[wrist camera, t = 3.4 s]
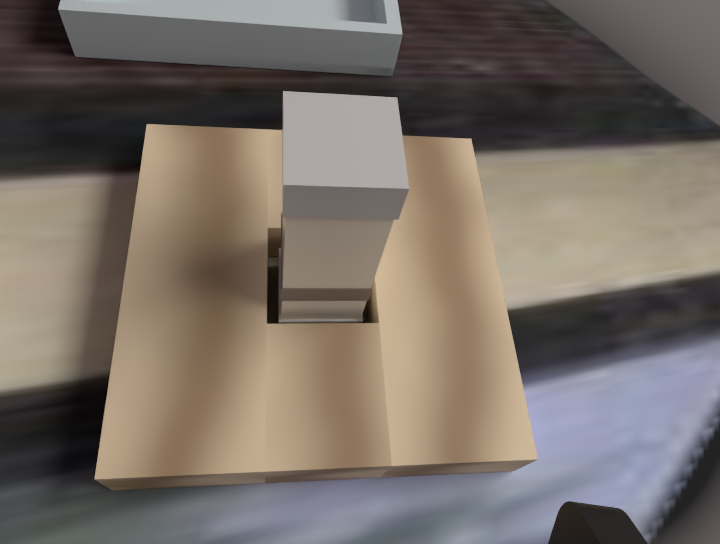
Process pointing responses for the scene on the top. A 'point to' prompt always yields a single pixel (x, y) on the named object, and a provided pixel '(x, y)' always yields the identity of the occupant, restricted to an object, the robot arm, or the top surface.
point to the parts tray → (240, 33)
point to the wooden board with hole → (305, 332)
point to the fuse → (336, 202)
